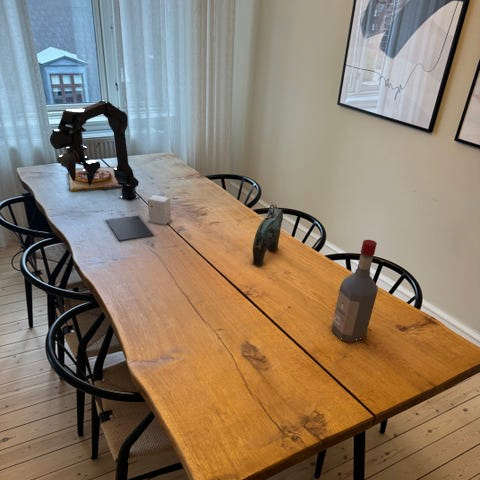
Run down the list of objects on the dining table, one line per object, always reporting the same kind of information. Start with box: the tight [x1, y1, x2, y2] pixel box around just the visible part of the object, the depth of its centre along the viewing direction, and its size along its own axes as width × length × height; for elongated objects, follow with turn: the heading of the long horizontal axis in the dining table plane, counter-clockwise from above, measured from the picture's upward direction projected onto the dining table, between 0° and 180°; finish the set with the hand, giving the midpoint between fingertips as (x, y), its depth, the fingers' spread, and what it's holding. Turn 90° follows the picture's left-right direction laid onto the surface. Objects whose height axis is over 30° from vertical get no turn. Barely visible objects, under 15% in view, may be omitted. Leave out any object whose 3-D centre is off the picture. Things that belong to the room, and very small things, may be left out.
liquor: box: [330, 239, 379, 344], centre depth 128 cm, size 9×9×30 cm
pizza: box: [67, 165, 122, 193], centre depth 237 cm, size 35×28×4 cm
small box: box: [147, 194, 172, 226], centre depth 195 cm, size 8×6×10 cm
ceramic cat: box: [252, 204, 284, 267], centre depth 170 cm, size 20×6×20 cm, turn 154°
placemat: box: [106, 215, 154, 242], centre depth 190 cm, size 22×14×1 cm, turn 27°
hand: (81, 182), depth 191 cm, fingers open, 9 cm apart
